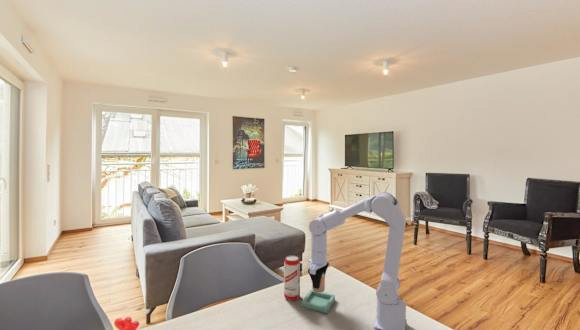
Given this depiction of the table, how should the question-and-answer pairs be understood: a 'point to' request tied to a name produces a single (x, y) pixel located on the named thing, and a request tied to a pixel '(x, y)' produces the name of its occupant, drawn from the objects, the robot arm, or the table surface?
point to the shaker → (322, 284)
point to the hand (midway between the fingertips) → (318, 284)
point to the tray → (318, 301)
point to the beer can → (292, 278)
